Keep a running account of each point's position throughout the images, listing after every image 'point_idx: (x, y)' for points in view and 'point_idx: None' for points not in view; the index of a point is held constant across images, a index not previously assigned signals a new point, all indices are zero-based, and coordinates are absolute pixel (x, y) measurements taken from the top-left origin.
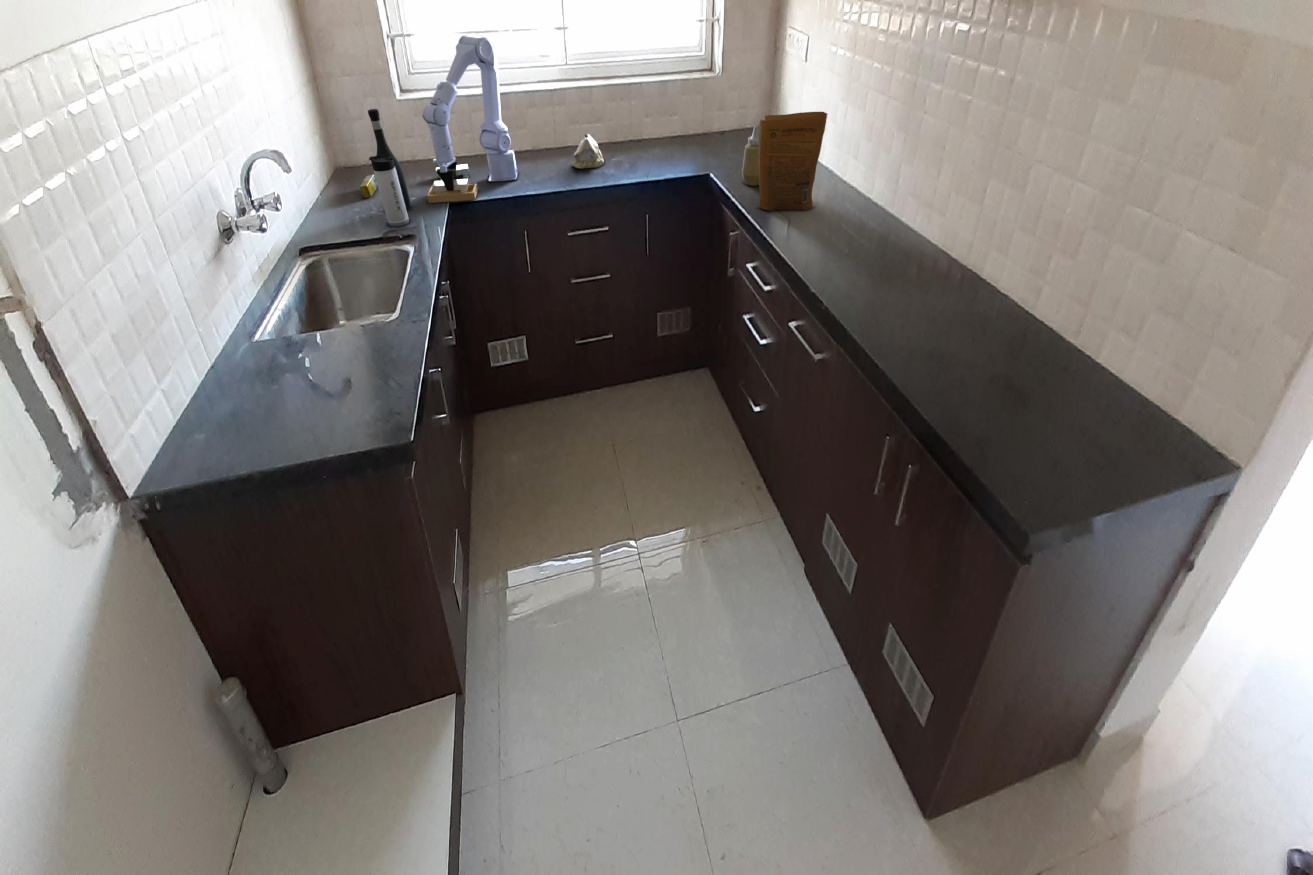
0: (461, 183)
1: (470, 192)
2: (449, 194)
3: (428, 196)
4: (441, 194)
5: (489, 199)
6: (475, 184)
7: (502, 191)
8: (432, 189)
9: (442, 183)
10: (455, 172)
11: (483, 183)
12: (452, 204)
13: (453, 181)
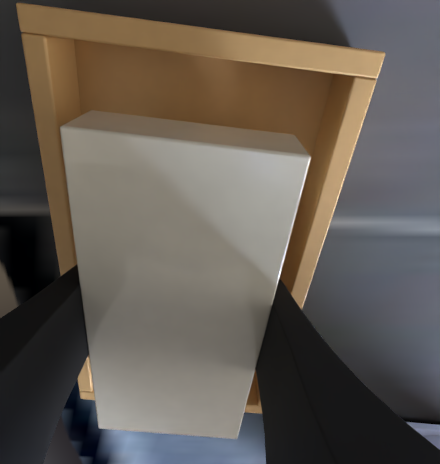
0: (119, 405)
1: (89, 385)
2: (58, 260)
3: (21, 27)
4: (61, 191)
5: (94, 408)
6: (250, 410)
7: (202, 449)
8: (319, 71)
9: (162, 259)
10: (266, 456)
11: (379, 395)
12: (17, 236)
13: (68, 394)
